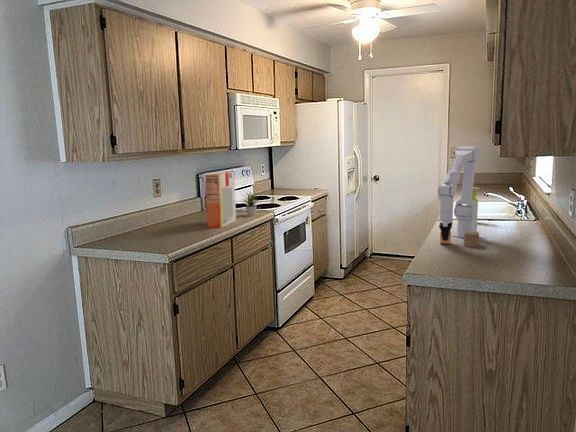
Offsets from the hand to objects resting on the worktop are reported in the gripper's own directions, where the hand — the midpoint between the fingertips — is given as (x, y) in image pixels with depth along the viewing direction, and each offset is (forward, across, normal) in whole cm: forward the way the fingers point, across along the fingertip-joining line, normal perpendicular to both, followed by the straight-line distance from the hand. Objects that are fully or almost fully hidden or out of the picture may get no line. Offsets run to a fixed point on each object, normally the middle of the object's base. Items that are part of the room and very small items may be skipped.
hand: (445, 239), depth 223 cm
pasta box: (+2, -18, -126) cm, 127 cm away
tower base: (+2, 0, +11) cm, 11 cm away
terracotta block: (+1, 0, 0) cm, 1 cm away
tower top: (0, 0, +11) cm, 11 cm away
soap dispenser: (+2, -59, +12) cm, 60 cm away
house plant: (+2, -50, -120) cm, 130 cm away
